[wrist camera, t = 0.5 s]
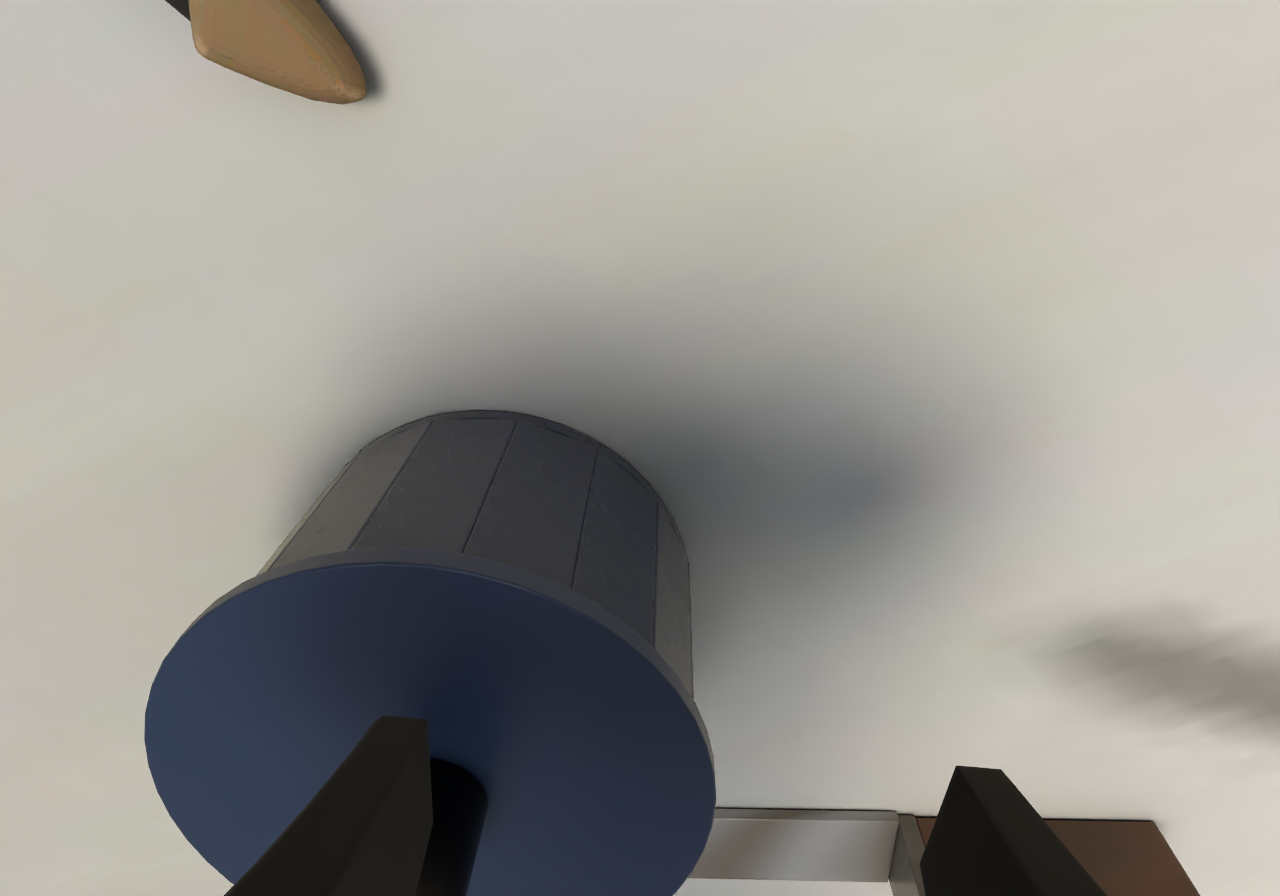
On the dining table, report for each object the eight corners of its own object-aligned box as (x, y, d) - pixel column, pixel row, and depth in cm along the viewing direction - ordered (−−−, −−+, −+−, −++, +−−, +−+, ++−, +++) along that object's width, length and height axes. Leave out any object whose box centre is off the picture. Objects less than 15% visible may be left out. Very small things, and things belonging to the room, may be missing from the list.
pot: (687, 718, 23) (692, 937, 18) (353, 714, 24) (251, 926, 18) (690, 408, 19) (697, 566, 13) (276, 410, 19) (106, 563, 13)
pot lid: (708, 922, 18) (718, 1151, 15) (251, 911, 19) (144, 1130, 15) (720, 526, 13) (739, 717, 10) (100, 525, 14) (-120, 706, 10)
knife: (1156, 815, 25) (1224, 922, 22) (1131, 876, 26) (1192, 985, 23) (563, 805, 25) (548, 907, 22) (569, 865, 27) (556, 968, 24)
